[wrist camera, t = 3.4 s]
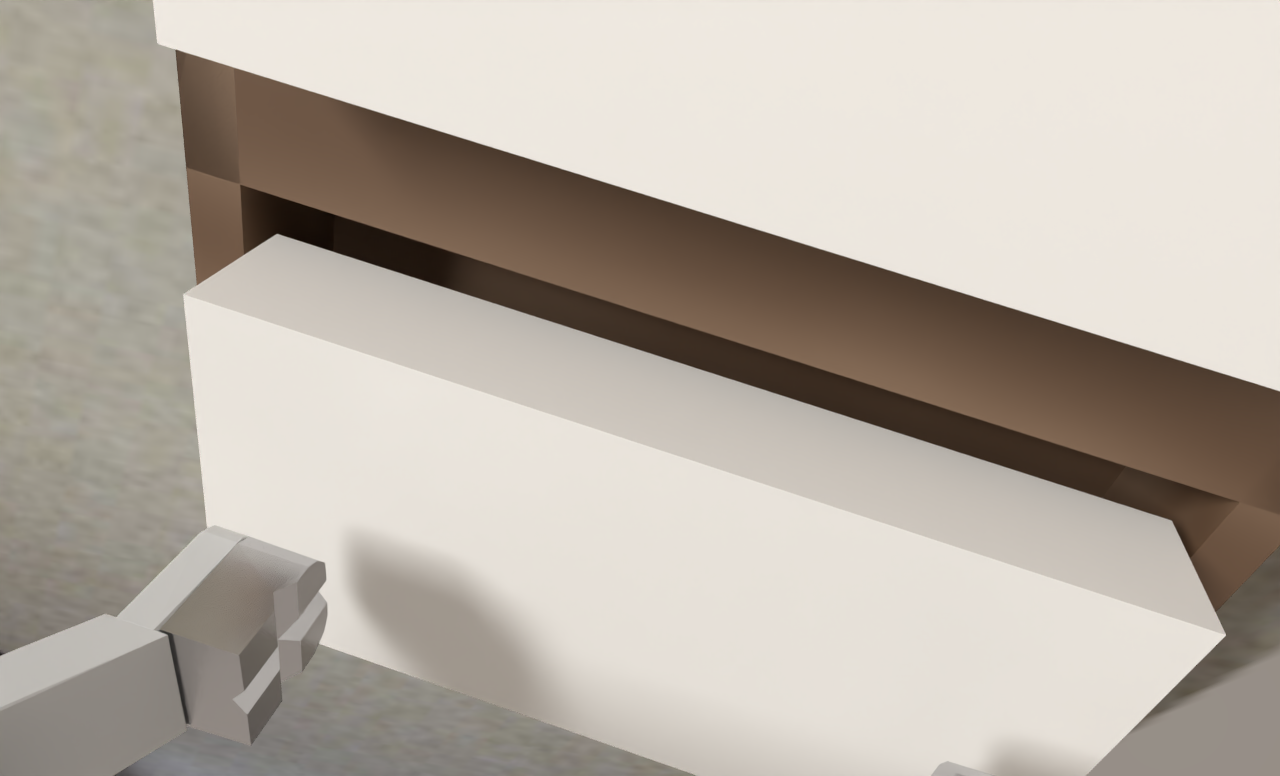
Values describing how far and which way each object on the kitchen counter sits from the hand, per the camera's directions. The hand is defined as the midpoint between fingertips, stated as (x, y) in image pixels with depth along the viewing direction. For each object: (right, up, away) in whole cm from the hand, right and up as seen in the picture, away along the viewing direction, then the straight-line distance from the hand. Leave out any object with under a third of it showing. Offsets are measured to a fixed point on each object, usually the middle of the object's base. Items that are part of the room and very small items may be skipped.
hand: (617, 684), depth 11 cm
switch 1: (+1, +2, +3) cm, 3 cm away
